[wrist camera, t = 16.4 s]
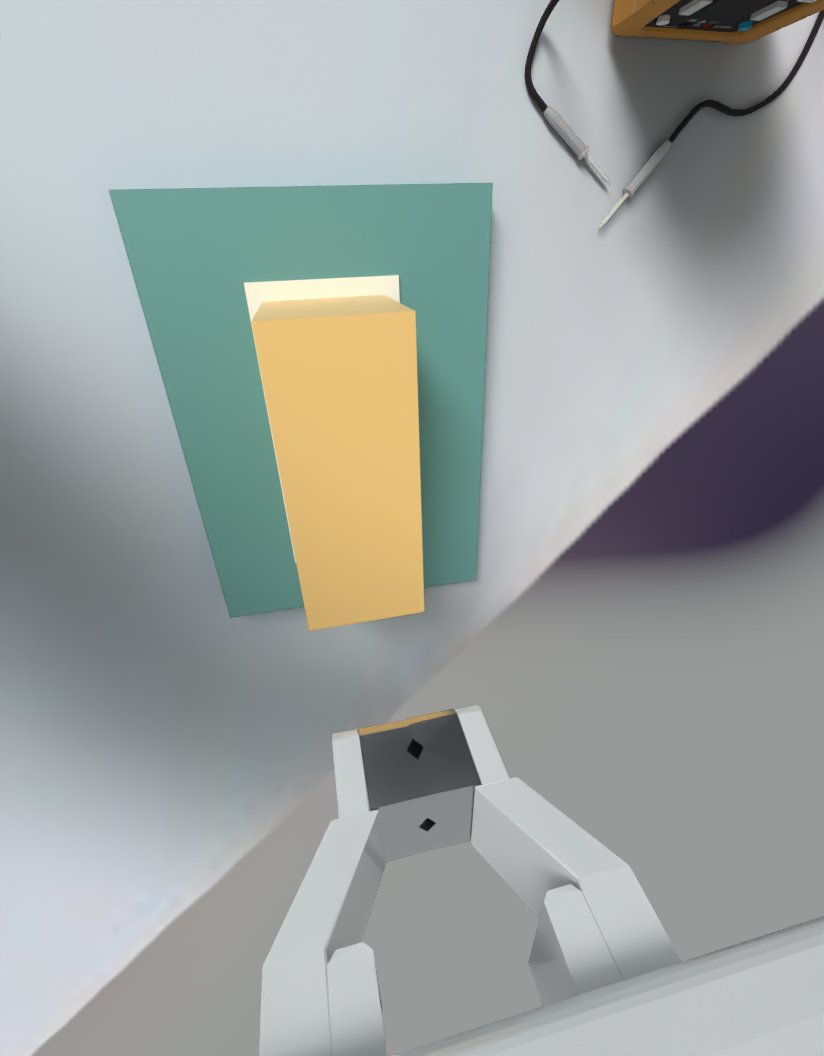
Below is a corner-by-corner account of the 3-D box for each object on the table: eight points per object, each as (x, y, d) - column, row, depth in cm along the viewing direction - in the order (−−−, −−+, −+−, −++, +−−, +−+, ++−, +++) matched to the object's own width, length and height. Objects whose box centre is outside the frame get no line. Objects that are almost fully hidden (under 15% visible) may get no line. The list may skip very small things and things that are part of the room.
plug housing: (262, 301, 22) (251, 321, 16) (384, 294, 23) (415, 310, 17) (305, 552, 29) (308, 631, 23) (398, 539, 30) (424, 611, 24)
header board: (120, 193, 21) (60, 174, 15) (481, 186, 23) (536, 168, 18) (232, 602, 32) (220, 673, 27) (469, 567, 34) (501, 625, 29)
